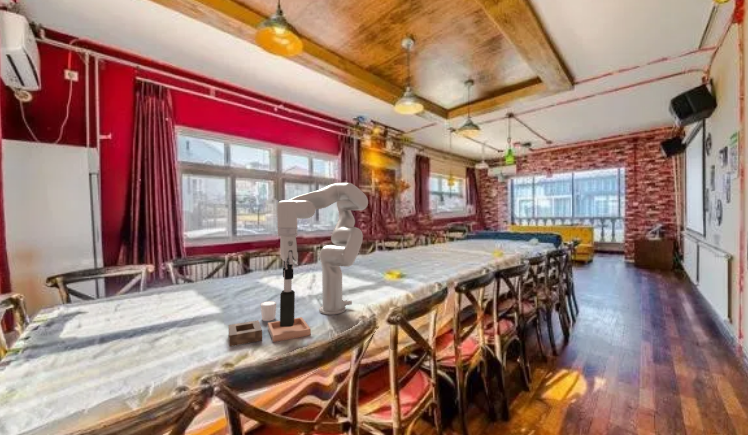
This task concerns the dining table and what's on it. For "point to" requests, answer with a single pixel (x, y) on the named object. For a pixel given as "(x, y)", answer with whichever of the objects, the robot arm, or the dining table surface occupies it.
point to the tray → (289, 330)
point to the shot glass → (268, 310)
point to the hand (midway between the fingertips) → (288, 277)
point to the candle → (287, 304)
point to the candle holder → (245, 333)
